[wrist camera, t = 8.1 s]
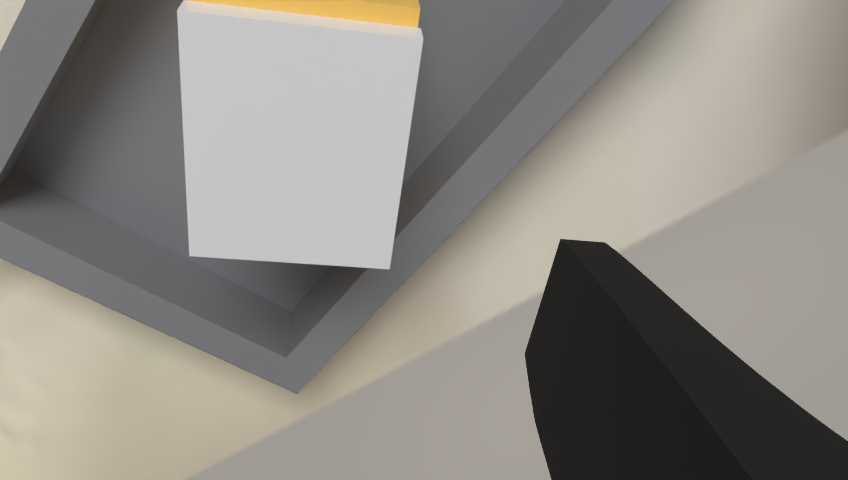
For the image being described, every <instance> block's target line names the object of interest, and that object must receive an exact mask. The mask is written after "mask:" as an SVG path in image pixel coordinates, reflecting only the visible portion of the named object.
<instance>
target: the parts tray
mask: <svg viewBox="0 0 848 480" xmlns="http://www.w3.org/2000/svg"><path fill="white" fill-rule="evenodd" d="M418 1H419V5H420V15H419V22H418V28H421V30H422V35H423V46H422V52H421V59H420V66H419V73H418V80H417V86H416V93H415V100H414V107H413V114H412V120H411V127H410V134H409V141H408V148H407V154H406V161H405V168H404V175H403V182H402V188H401V195H400V202H399V209H398V216H397V223H396V229H395V236H394V243H393V250H392V257H391V263H390V269H377V268H362V267H347V266H331V265H316V264H301V263H286V262H271V261H255V260H240V259H225V258H210V257H195V256H189V239H188V219H187V199H186V180H185V160H184V140H183V120H182V101H181V81H180V61H179V41H178V22H177V10H178V8H179V6H180V5H181V3H182V2H183V0H26V1H25V3H24V6H23V8H22V10H21V12H20V14H19V16H18V18H17V20H16V22H15V24H14V26H13V28H12V30H11V32H10V34H9V36H8V38H7V40H6V42H5V44H4V46H3V48H2V50H1V52H0V258H1V259H4V260H6V261H8V262H10V263H12V264H14V265H17V266H19V267H21V268H23V269H25V270H28V271H30V272H32V273H34V274H36V275H39V276H41V277H43V278H45V279H47V280H49V281H52V282H54V283H56V284H58V285H60V286H63V287H65V288H67V289H69V290H71V291H73V292H76V293H78V294H80V295H82V296H84V297H87V298H89V299H91V300H93V301H95V302H97V303H100V304H102V305H104V306H106V307H108V308H111V309H113V310H115V311H117V312H119V313H121V314H124V315H126V316H128V317H130V318H132V319H135V320H137V321H139V322H141V323H143V324H146V325H148V326H150V327H152V328H154V329H156V330H159V331H161V332H163V333H165V334H167V335H170V336H172V337H174V338H176V339H178V340H180V341H183V342H185V343H187V344H189V345H191V346H194V347H196V348H198V349H200V350H202V351H204V352H207V353H209V354H211V355H213V356H215V357H218V358H220V359H222V360H224V361H226V362H228V363H231V364H233V365H235V366H237V367H239V368H242V369H244V370H246V371H248V372H250V373H253V374H255V375H257V376H259V377H261V378H263V379H266V380H268V381H270V382H272V383H274V384H277V385H279V386H281V387H283V388H285V389H287V390H290V391H292V392H294V393H296V394H297V393H298V392H299V391H300V390H301V389H302V388H303V387H304V386H305V385H306V384H307V383H308V382H309V381H310V380H311V379H312V378H313V377H314V376H315V374H316V373H317V372H318V371H319V370H320V369H321V368H322V367H323V366H324V365H325V364H326V363H327V362H328V361H329V360H330V359H331V358H332V357H333V356H334V355H335V354H336V353H337V352H338V350H339V349H340V348H341V347H342V346H343V345H344V344H345V343H346V342H347V341H348V340H349V339H350V338H351V337H352V336H353V335H354V334H355V333H356V332H357V331H358V330H359V329H360V327H361V326H362V325H363V324H364V323H365V322H366V321H367V320H368V319H369V318H370V317H371V316H372V315H373V314H374V313H375V312H376V311H377V310H378V309H379V308H380V307H381V306H382V304H383V303H384V302H385V301H386V300H387V299H388V298H389V297H390V296H391V295H392V294H393V293H394V292H395V291H396V290H397V289H398V288H399V287H400V286H401V285H402V284H403V283H404V282H405V280H406V279H407V278H408V277H409V276H410V275H411V274H412V273H413V272H414V271H415V270H416V269H417V268H418V267H419V266H420V265H421V264H422V263H423V262H424V261H425V260H426V259H427V257H428V256H429V255H430V254H431V253H432V252H433V251H434V250H435V249H436V248H437V247H438V246H439V245H440V244H441V243H442V242H443V241H444V240H445V239H446V238H447V237H448V236H449V235H450V233H451V232H452V231H453V230H454V229H455V228H456V227H457V226H458V225H459V224H460V223H461V222H462V221H463V220H464V219H465V218H466V217H467V216H468V215H469V214H470V213H471V212H472V210H473V209H474V208H475V207H476V206H477V205H478V204H479V203H480V202H481V201H482V200H483V199H484V198H485V197H486V196H487V195H488V194H489V193H490V192H491V191H492V190H493V189H494V187H495V186H496V185H497V184H498V183H499V182H500V181H501V180H502V179H503V178H504V177H505V176H506V175H507V174H508V173H509V172H510V171H511V170H512V169H513V168H514V167H515V166H516V165H517V163H518V162H519V161H520V160H521V159H522V158H523V157H524V156H525V155H526V154H527V153H528V152H529V151H530V150H531V149H532V148H533V147H534V146H535V145H536V144H537V143H538V142H539V140H540V139H541V138H542V137H543V136H544V135H545V134H546V133H547V132H548V131H549V130H550V129H551V128H552V127H553V126H554V125H555V124H556V123H557V122H558V121H559V120H560V119H561V118H562V116H563V115H564V114H565V113H566V112H567V111H568V110H569V109H570V108H571V107H572V106H573V105H574V104H575V103H576V102H577V101H578V100H579V99H580V98H581V97H582V96H583V95H584V93H585V92H586V91H587V90H588V89H589V88H590V87H591V86H592V85H593V84H594V83H595V82H596V81H597V80H598V79H599V78H600V77H601V76H602V75H603V74H604V73H605V72H606V70H607V69H608V68H609V67H610V66H611V65H612V64H613V63H614V62H615V61H616V60H617V59H618V58H619V57H620V56H621V55H622V54H623V53H624V52H625V51H626V50H627V49H628V48H629V46H630V45H631V44H632V43H633V42H634V41H635V40H636V39H637V38H638V37H639V36H640V35H641V34H642V33H643V32H644V31H645V30H646V29H647V28H648V27H649V26H650V25H651V23H652V22H653V21H654V20H655V19H656V18H657V17H658V16H659V15H660V14H661V13H662V12H663V11H664V10H665V9H666V8H667V7H668V6H669V5H670V4H671V3H672V2H673V0H418Z"/></svg>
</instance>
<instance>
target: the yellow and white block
mask: <svg viewBox="0 0 848 480" xmlns="http://www.w3.org/2000/svg"><path fill="white" fill-rule="evenodd" d="M419 15H420V5H419V1H418V0H183V2H182V3H181V5H180V6H179V8H178V10H177V22H178V41H179V61H180V81H181V101H182V120H183V140H184V160H185V180H186V199H187V219H188V239H189V256H195V257H210V258H225V259H240V260H255V261H271V262H286V263H301V264H316V265H331V266H347V267H362V268H377V269H390V263H391V257H392V250H393V243H394V236H395V229H396V223H397V216H398V209H399V202H400V195H401V188H402V182H403V175H404V168H405V161H406V154H407V148H408V141H409V134H410V127H411V120H412V114H413V107H414V100H415V93H416V86H417V80H418V73H419V66H420V59H421V52H422V46H423V35H422V30H421V28H418V22H419Z"/></svg>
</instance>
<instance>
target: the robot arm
mask: <svg viewBox="0 0 848 480" xmlns="http://www.w3.org/2000/svg"><path fill="white" fill-rule="evenodd" d="M525 358H526V366H527V373H528V380H529V387H530V394H531V399H532V406H533V412H534V418H535V423H536V427H537V430H538V434H539V438H540V441H541V444H542V448H543V451H544V455H545V459H546V462H547V465H548V469H549V472H550V476H551V479H552V480H848V441H847V440H845V439H844V438H842V437H841V436H839V435H838V434H837V433H835V432H834V431H832V430H831V429H830V428H828V427H827V426H825V425H824V424H823V423H822V422H820V421H819V420H817V419H816V418H815V417H813V416H812V415H811V414H809V413H808V412H807V411H805V410H804V409H803V408H801V407H800V406H799V405H798V404H796V403H795V402H794V401H793V400H791V399H790V398H789V397H787V396H786V395H785V394H784V393H782V392H781V391H780V390H779V389H777V388H776V387H775V386H773V385H772V384H771V383H770V382H768V381H767V380H766V379H764V378H763V377H762V376H761V375H759V374H758V373H757V372H755V370H753V369H752V368H751V367H750V366H748V365H747V364H746V363H745V362H744V361H742V360H741V359H740V358H739V357H738V356H736V355H735V354H734V353H733V352H732V351H730V350H729V349H728V348H727V347H726V346H724V345H723V344H722V343H721V342H720V341H719V340H717V339H716V338H715V337H714V336H713V335H711V333H709V332H708V331H707V330H706V329H705V328H704V327H702V326H701V325H700V324H699V323H698V322H697V321H696V320H694V319H693V318H692V317H691V316H690V315H689V314H688V313H686V312H685V311H684V310H683V309H682V308H681V307H680V306H679V305H677V304H676V303H675V302H674V301H673V300H672V299H671V298H669V297H668V296H667V295H666V294H665V293H664V292H663V291H662V290H661V289H659V288H658V287H657V286H656V285H655V284H654V283H653V282H652V281H650V280H649V279H648V278H647V277H646V276H645V275H643V274H642V273H641V272H640V271H639V270H638V269H637V268H636V267H634V266H633V265H632V264H631V263H630V262H629V261H627V260H626V259H625V258H624V257H623V256H622V255H620V254H619V253H618V252H617V251H615V250H614V249H613V248H611V247H610V246H609V245H607V244H606V243H603V242H591V241H578V240H565V239H560V242H559V246H558V249H557V252H556V255H555V258H554V262H553V265H552V268H551V271H550V275H549V278H548V281H547V284H546V287H545V291H544V294H543V297H542V300H541V303H540V307H539V310H538V313H537V316H536V319H535V323H534V326H533V329H532V332H531V335H530V339H529V342H528V345H527V348H526V352H525Z"/></svg>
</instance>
